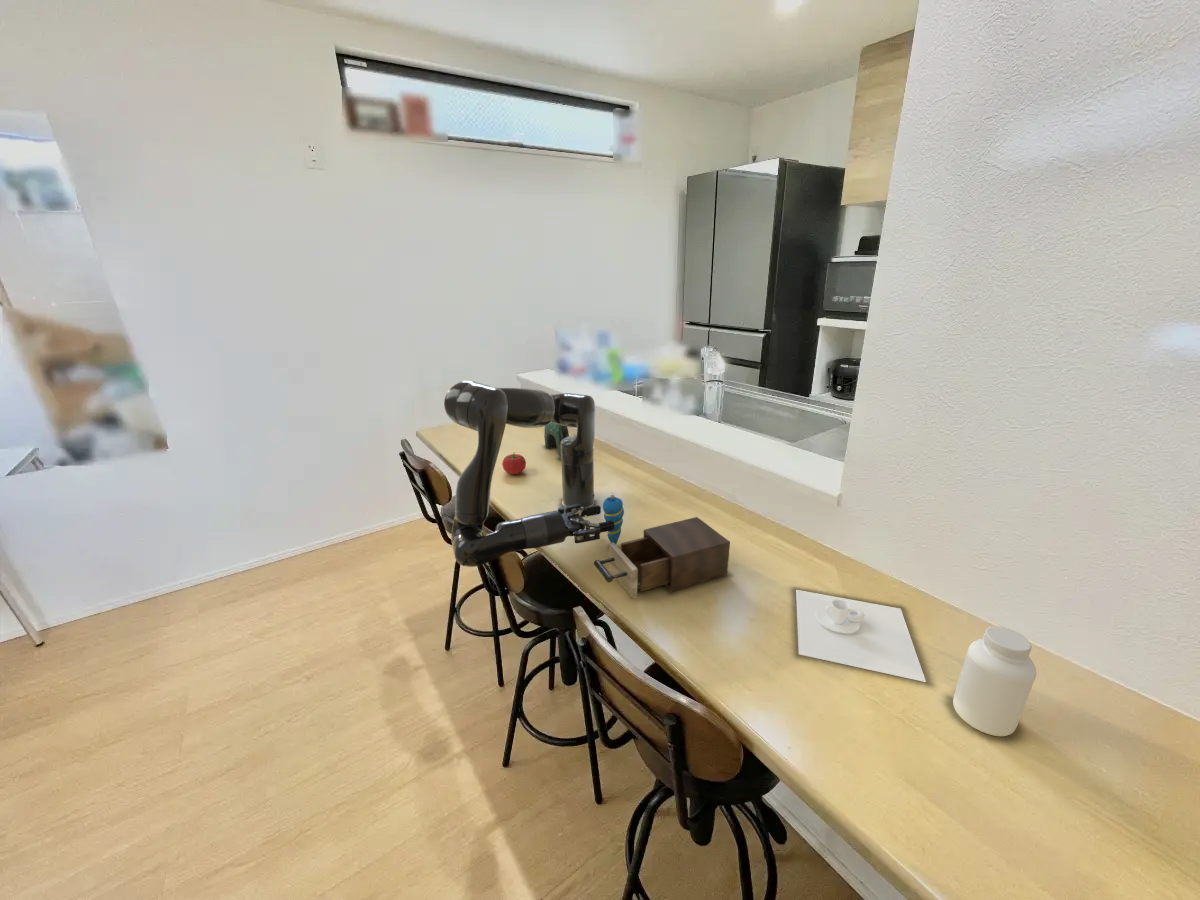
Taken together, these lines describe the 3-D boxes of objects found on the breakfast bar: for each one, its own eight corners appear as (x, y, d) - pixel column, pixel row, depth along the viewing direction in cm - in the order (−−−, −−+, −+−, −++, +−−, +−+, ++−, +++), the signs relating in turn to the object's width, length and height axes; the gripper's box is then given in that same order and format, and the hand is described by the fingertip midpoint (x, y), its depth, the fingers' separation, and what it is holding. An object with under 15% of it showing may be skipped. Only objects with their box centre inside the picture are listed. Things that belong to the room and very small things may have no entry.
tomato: (524, 477, 164) (522, 456, 161) (501, 477, 164) (499, 456, 162) (528, 468, 171) (526, 448, 169) (505, 468, 172) (504, 448, 169)
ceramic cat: (541, 445, 194) (538, 396, 187) (556, 443, 196) (554, 394, 189) (558, 462, 177) (556, 408, 170) (575, 459, 179) (573, 406, 172)
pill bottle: (939, 696, 80) (962, 621, 74) (985, 692, 80) (1011, 617, 75) (978, 740, 72) (1007, 660, 67) (1029, 736, 73) (1061, 656, 68)
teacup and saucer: (861, 613, 99) (865, 596, 97) (867, 640, 92) (871, 622, 90) (814, 604, 101) (817, 588, 100) (816, 630, 94) (819, 612, 93)
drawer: (611, 604, 101) (611, 575, 98) (589, 574, 111) (589, 547, 108) (687, 581, 108) (688, 554, 105) (660, 555, 118) (661, 530, 115)
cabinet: (671, 592, 106) (673, 557, 103) (642, 561, 117) (643, 529, 114) (727, 575, 111) (730, 541, 108) (694, 548, 122) (696, 516, 119)
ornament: (621, 554, 120) (622, 498, 115) (601, 552, 121) (600, 497, 116) (625, 543, 125) (625, 489, 119) (605, 541, 126) (604, 488, 120)
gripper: (550, 529, 106) (618, 515, 112) (533, 502, 118) (595, 491, 124) (551, 559, 109) (618, 544, 114) (534, 529, 121) (596, 517, 127)
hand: (606, 516), depth 119 cm, fingers open, 8 cm apart
